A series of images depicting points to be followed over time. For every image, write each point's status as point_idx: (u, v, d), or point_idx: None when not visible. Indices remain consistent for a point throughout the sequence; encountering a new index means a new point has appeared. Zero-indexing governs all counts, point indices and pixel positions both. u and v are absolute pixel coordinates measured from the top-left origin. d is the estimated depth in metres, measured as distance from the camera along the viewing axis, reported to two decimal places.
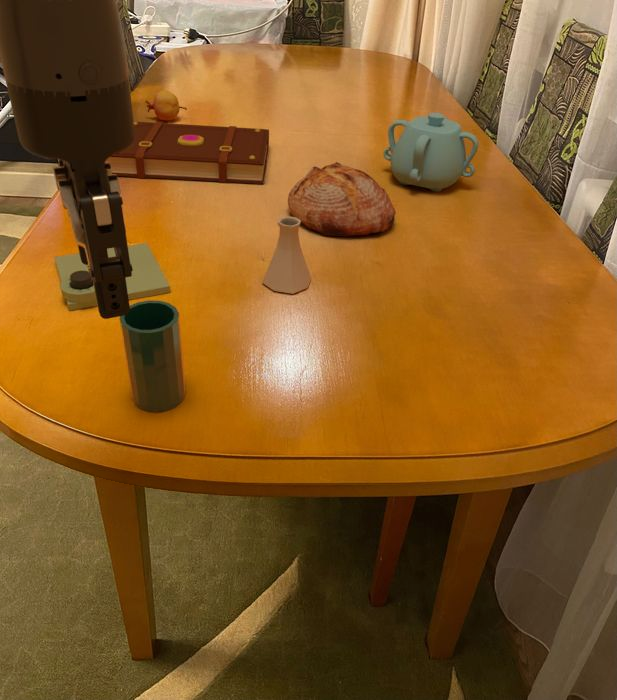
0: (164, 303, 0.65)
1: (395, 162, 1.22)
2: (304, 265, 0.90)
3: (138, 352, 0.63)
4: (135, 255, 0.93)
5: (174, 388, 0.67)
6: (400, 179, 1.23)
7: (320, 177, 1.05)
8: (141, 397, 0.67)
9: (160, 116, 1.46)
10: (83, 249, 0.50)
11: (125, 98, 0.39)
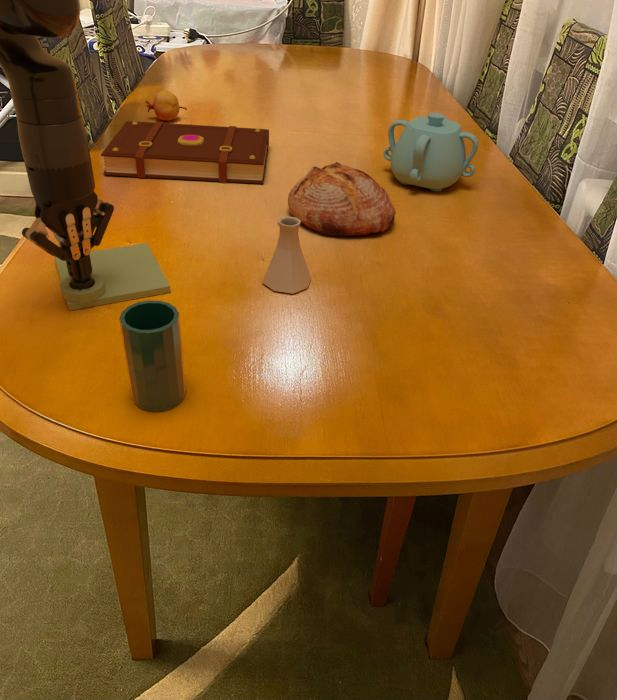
0: (164, 303, 0.65)
1: (395, 162, 1.22)
2: (304, 265, 0.90)
3: (138, 352, 0.63)
4: (135, 255, 0.93)
5: (174, 388, 0.67)
6: (400, 179, 1.23)
7: (320, 177, 1.05)
8: (141, 397, 0.67)
9: (160, 116, 1.46)
10: None
11: (60, 176, 0.71)
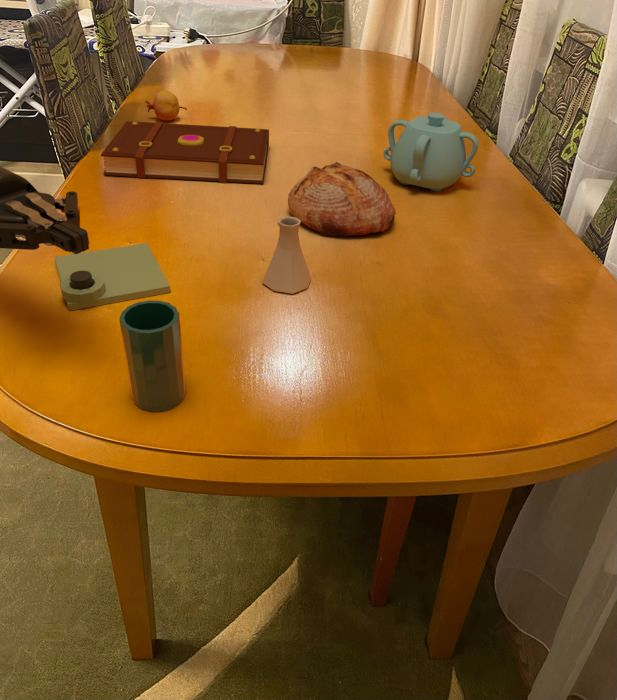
0: (164, 303, 0.65)
1: (395, 162, 1.22)
2: (304, 265, 0.90)
3: (138, 352, 0.63)
4: (135, 255, 0.93)
5: (174, 388, 0.67)
6: (400, 179, 1.23)
7: (320, 177, 1.05)
8: (141, 397, 0.67)
9: (160, 116, 1.46)
10: None
11: None
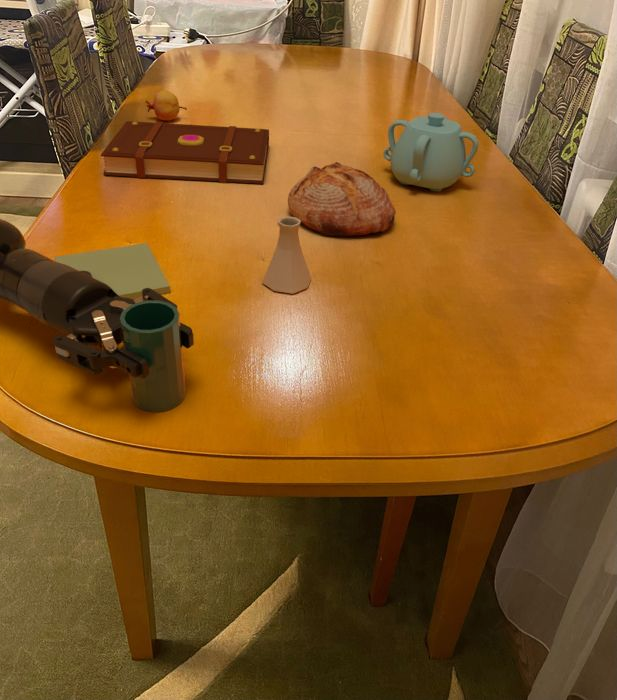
0: (164, 303, 0.65)
1: (395, 162, 1.22)
2: (304, 265, 0.90)
3: (138, 352, 0.63)
4: (135, 255, 0.93)
5: (174, 388, 0.67)
6: (400, 179, 1.23)
7: (320, 177, 1.05)
8: (141, 397, 0.67)
9: (160, 116, 1.46)
10: None
11: (54, 289, 0.68)
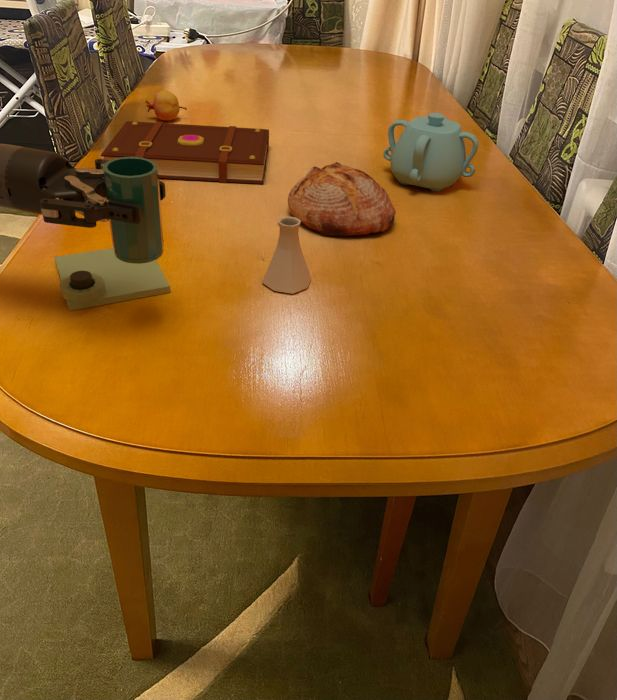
0: (136, 157, 0.71)
1: (395, 162, 1.22)
2: (304, 265, 0.90)
3: (129, 200, 0.68)
4: None
5: (159, 237, 0.74)
6: (400, 179, 1.23)
7: (320, 177, 1.05)
8: (131, 249, 0.72)
9: (160, 116, 1.46)
10: None
11: (16, 162, 0.69)
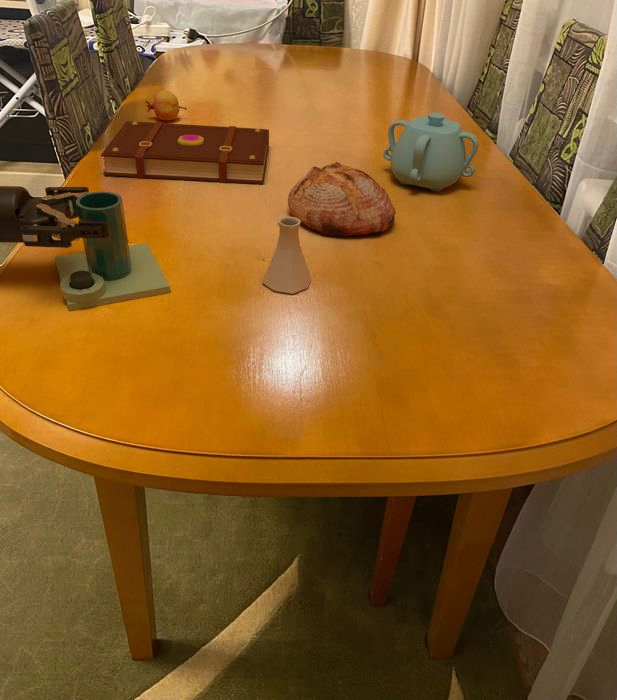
0: (98, 192, 0.85)
1: (395, 162, 1.22)
2: (304, 265, 0.90)
3: None
4: (135, 255, 0.93)
5: (128, 255, 0.88)
6: (400, 179, 1.23)
7: (320, 177, 1.05)
8: (109, 269, 0.86)
9: (160, 116, 1.46)
10: None
11: None
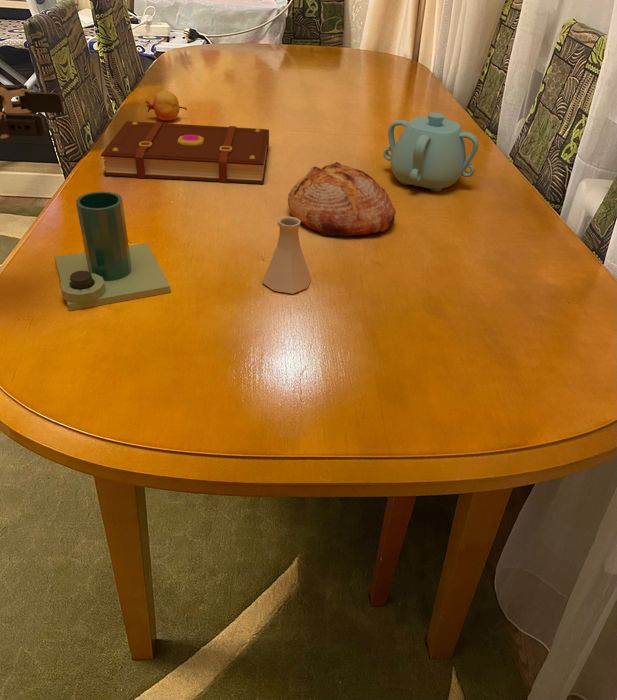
0: (98, 192, 0.85)
1: (395, 162, 1.22)
2: (304, 265, 0.90)
3: (105, 227, 0.82)
4: (135, 255, 0.93)
5: (128, 255, 0.88)
6: (400, 179, 1.23)
7: (320, 177, 1.05)
8: (109, 269, 0.86)
9: (160, 116, 1.46)
10: (50, 110, 0.73)
11: None
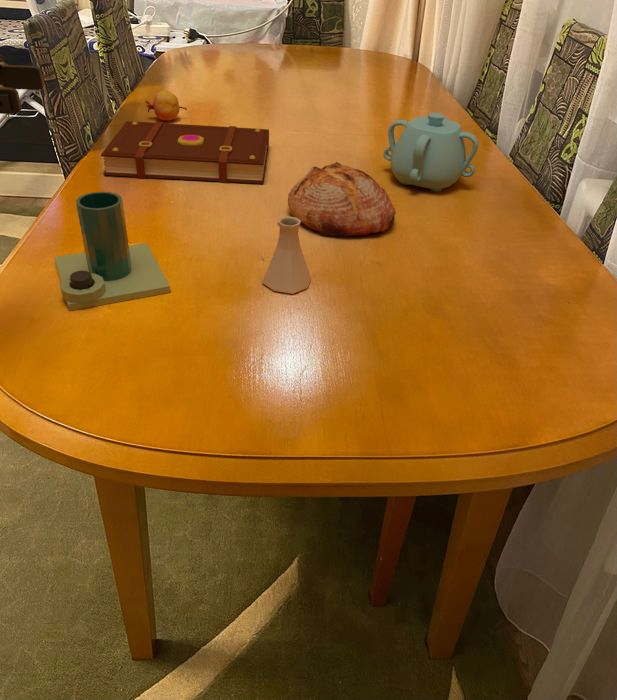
0: (98, 192, 0.85)
1: (395, 162, 1.22)
2: (304, 265, 0.90)
3: (105, 227, 0.82)
4: (135, 255, 0.93)
5: (128, 255, 0.88)
6: (400, 179, 1.23)
7: (320, 177, 1.05)
8: (109, 269, 0.86)
9: (160, 116, 1.46)
10: (27, 86, 0.64)
11: None
